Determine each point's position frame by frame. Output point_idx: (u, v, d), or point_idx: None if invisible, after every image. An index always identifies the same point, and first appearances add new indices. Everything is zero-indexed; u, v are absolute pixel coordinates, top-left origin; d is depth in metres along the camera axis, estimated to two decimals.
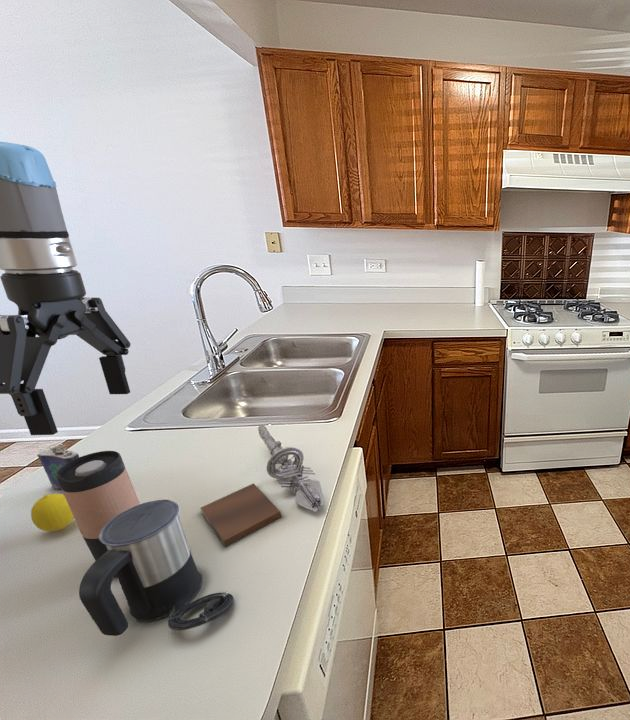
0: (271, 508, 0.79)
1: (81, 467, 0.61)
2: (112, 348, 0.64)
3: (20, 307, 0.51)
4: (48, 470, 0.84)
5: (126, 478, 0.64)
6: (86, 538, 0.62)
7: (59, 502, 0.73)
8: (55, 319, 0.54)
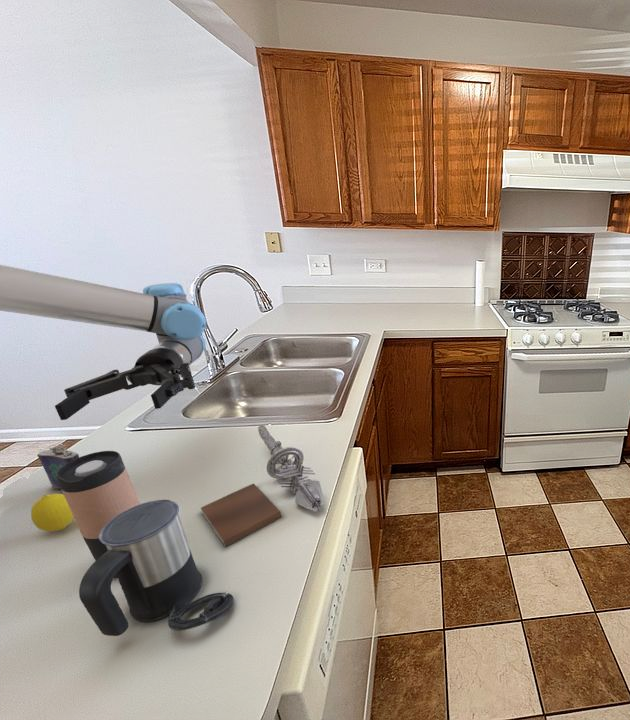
0: (271, 508, 0.79)
1: (81, 467, 0.61)
2: (95, 397, 0.74)
3: (174, 366, 0.84)
4: (48, 470, 0.84)
5: (126, 478, 0.64)
6: (86, 538, 0.62)
7: (59, 502, 0.73)
8: None
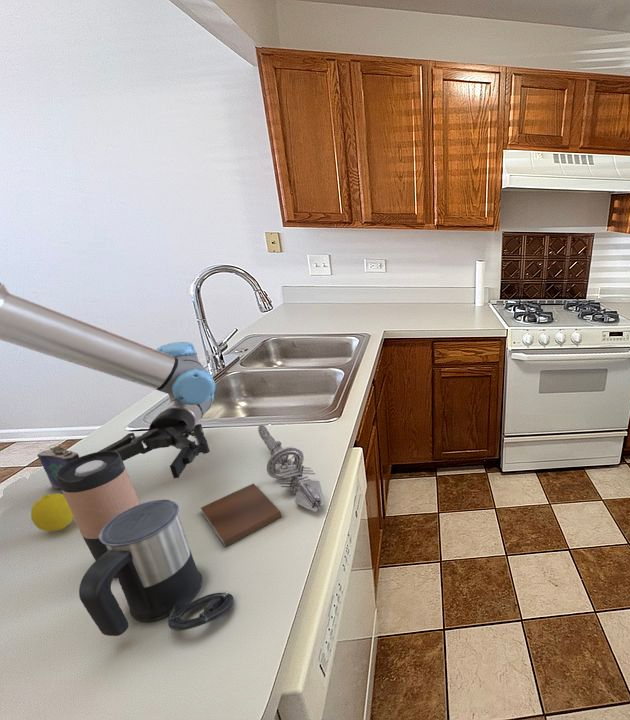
0: (271, 508, 0.79)
1: (81, 467, 0.61)
2: None
3: (187, 427, 0.87)
4: (48, 470, 0.84)
5: (126, 478, 0.64)
6: (86, 538, 0.62)
7: (59, 502, 0.73)
8: None
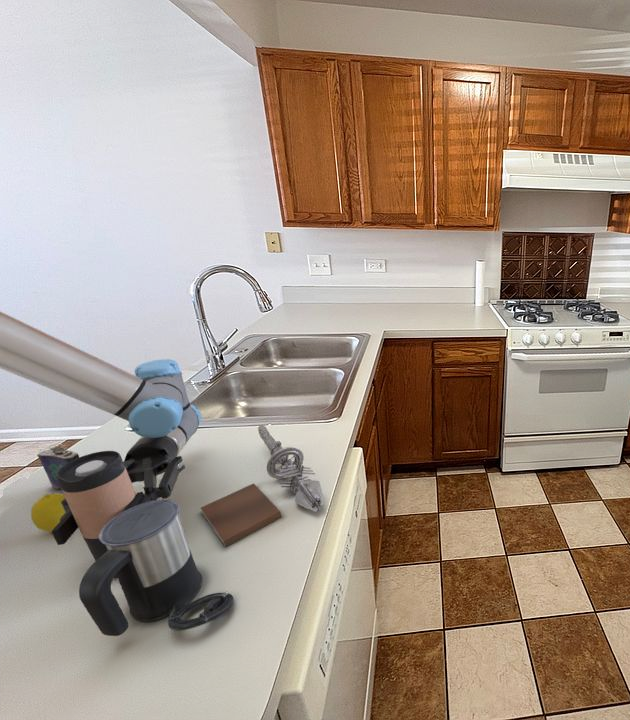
0: (271, 508, 0.79)
1: (81, 467, 0.61)
2: None
3: (168, 457, 0.78)
4: (48, 470, 0.84)
5: (126, 478, 0.64)
6: (86, 538, 0.62)
7: (59, 502, 0.73)
8: None
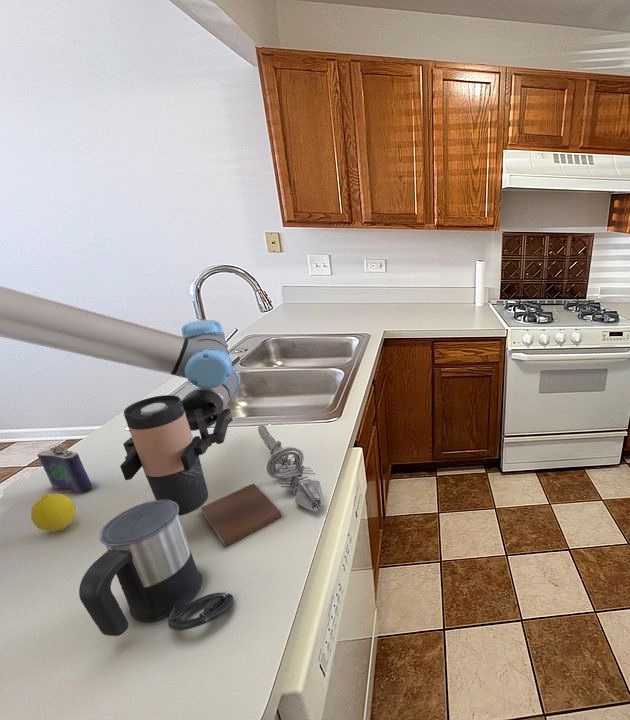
0: (271, 508, 0.79)
1: (146, 407, 0.64)
2: None
3: (216, 410, 0.81)
4: (48, 470, 0.84)
5: (186, 420, 0.67)
6: (149, 476, 0.65)
7: (59, 502, 0.73)
8: None
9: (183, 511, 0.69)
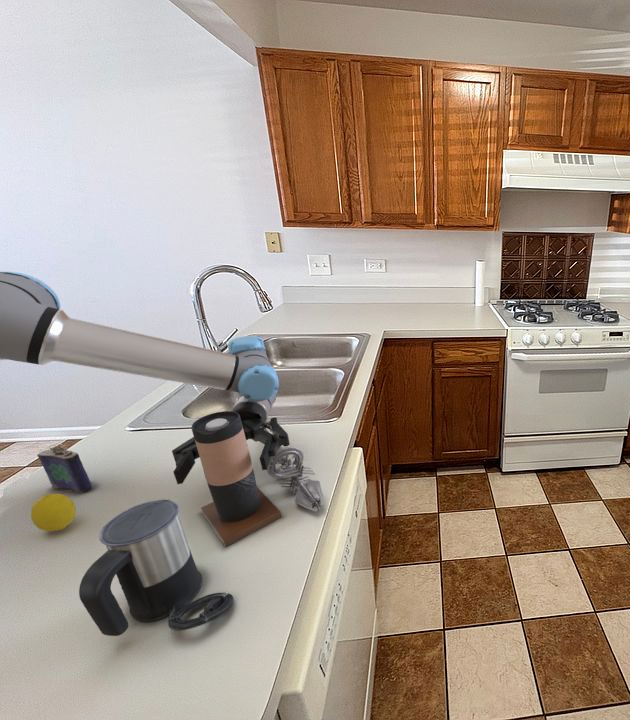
0: (271, 508, 0.79)
1: (210, 423, 0.71)
2: (198, 457, 0.77)
3: (262, 420, 0.87)
4: (48, 470, 0.84)
5: (244, 434, 0.74)
6: (212, 485, 0.72)
7: (59, 502, 0.73)
8: None
9: (240, 517, 0.75)
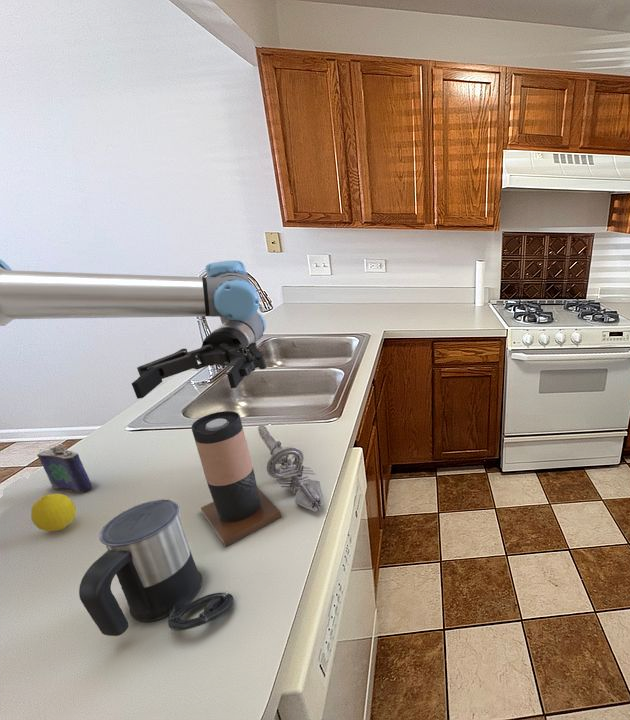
0: (271, 508, 0.79)
1: (210, 423, 0.71)
2: (167, 376, 0.71)
3: (241, 346, 0.80)
4: (48, 470, 0.84)
5: (244, 434, 0.74)
6: (212, 485, 0.72)
7: (59, 502, 0.73)
8: None
9: (240, 517, 0.75)
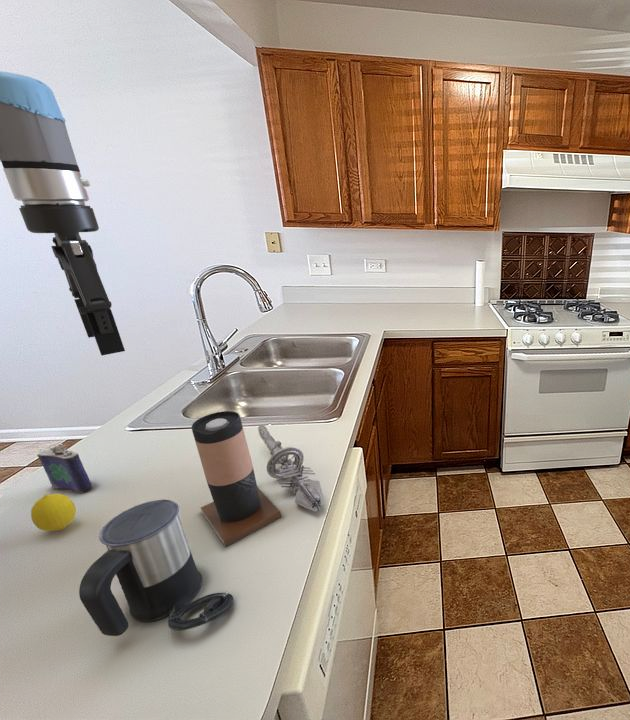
0: (271, 508, 0.79)
1: (210, 423, 0.71)
2: None
3: (65, 236, 0.56)
4: (48, 470, 0.84)
5: (244, 434, 0.74)
6: (212, 485, 0.72)
7: (59, 502, 0.73)
8: (88, 249, 0.59)
9: (240, 517, 0.75)
